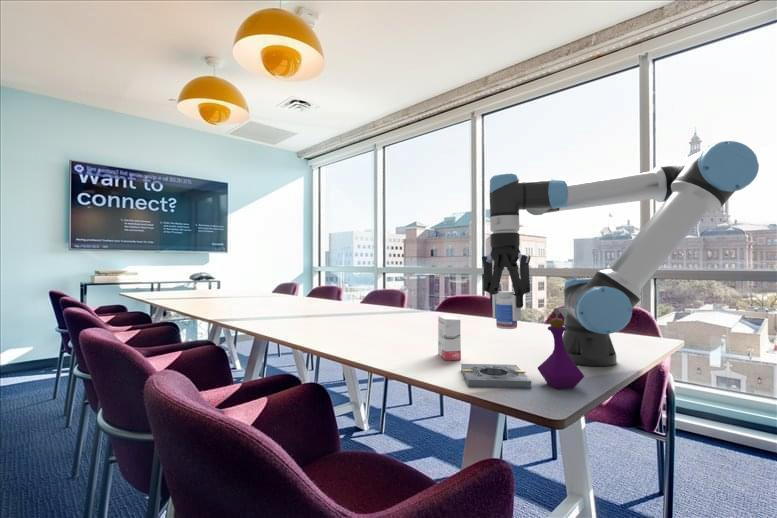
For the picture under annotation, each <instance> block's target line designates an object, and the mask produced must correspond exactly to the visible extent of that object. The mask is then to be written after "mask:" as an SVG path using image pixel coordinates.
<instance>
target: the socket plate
mask: <svg viewBox="0 0 777 518" xmlns="http://www.w3.org/2000/svg"><path fill="white" fill-rule="evenodd" d="M461 372H462V375H463V377H464V380H465V382H466V384H467V387H468V388H473V387H474V388H504V389H505V388H506V389H507V388H509V389H510V388H511V389H517V388H518V389H532V380H531V379H530V378H529V377H528V376H527V375H526V373H527V371H526V370H522V369H520V368H519V366H518V365H517V364H500V363H499V364H496V363H495V364H494V363H491V364H490V363H489V364H488V363H486V364H485V363H481V364H480V363H461Z"/></svg>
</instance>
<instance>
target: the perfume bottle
mask: <svg viewBox="0 0 777 518" xmlns="http://www.w3.org/2000/svg"><path fill="white" fill-rule="evenodd" d="M553 312H554V314H555V316H556V317H554V318H551V319H550V320H549V322H550V326H548V327H547V330H548V331H550V332H551V334H552V336H553V344H554V345H553V346H554V347H553V351H552V353H551V354H550V355H549V357H547V359H545V360H544V361H543V362H542V363H541V364H540V365H539V366H537V370H538V372H539V374H541V376H542V377H543V380H544V381H545V382H546V384H548V385H549V386H551V388H554V389H556V390H564V389H565V390H568V389H569V390H570V389H571V390H572V389H574V388H575V387H576V386H577V385H578V384H579V383H580V382H581V381H582V380H583V379H584V378H585V375H584V373H583V372H582V371H581V369H580V368H579V367H578V366H577V364H575V363H574V362H573V360H572V359H571V358H570V357H569V355H568V354H567V352H566V350H565V347H564V343H563V338H562V337H563V334H564V331H565V330H566V328H565V327H564V320H563V319H562V318H558V316H559V315H560V314H561V315H562V316H563V318H565V317H566V316H567V313H568V308H564V307H554V308H553Z"/></svg>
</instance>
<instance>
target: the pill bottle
mask: <svg viewBox="0 0 777 518" xmlns="http://www.w3.org/2000/svg"><path fill="white" fill-rule="evenodd" d="M497 294H498V296H499V299H498V300H497V301H496V319H495V324H496V328H498V329H501V330H504V329H505V330H515V329H517V328H518V320H517V321H513V311H512V296H514V294H515V292H514V290H512V291H511V290H498V293H497Z"/></svg>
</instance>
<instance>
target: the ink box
mask: <svg viewBox="0 0 777 518" xmlns="http://www.w3.org/2000/svg"><path fill="white" fill-rule="evenodd" d="M437 317H438V319H437V321H438V323H437V329H438V332H437V333H438V334H437V336H438V339H437V341H438V342H437V347H438V349H437V354H438V355H439V356H440V357H441V358H442V359H443V360H445V361H461V359H462V354H461V353H462V352H461V350H462V349H461V348H462V347H461V346H462V345H461V340H462V339H461V338H462V337H461V336H462V335H461V319H460V318H457V317H456V316H454V315H438V316H437Z"/></svg>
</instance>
